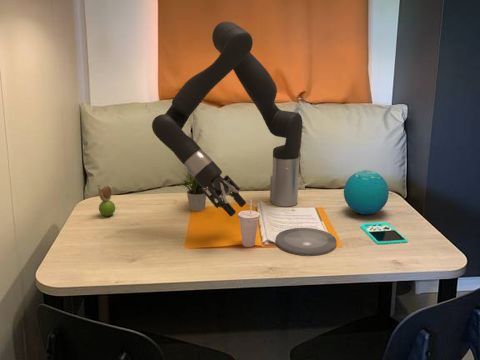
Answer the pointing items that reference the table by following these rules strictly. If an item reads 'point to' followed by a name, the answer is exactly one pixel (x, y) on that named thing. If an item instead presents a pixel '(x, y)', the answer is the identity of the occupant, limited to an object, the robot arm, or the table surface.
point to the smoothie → (248, 226)
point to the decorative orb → (366, 192)
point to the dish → (306, 241)
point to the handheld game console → (382, 233)
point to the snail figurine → (106, 201)
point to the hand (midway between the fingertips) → (239, 209)
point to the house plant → (195, 194)
